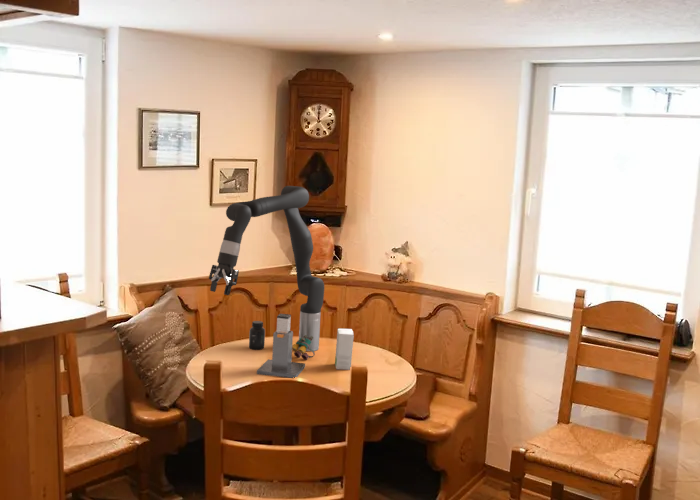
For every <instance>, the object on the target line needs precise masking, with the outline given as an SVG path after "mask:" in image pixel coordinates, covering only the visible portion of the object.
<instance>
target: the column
mask: <svg viewBox="0 0 700 500" xmlns="http://www.w3.org/2000/svg"><path fill="white" fill-rule="evenodd" d="M291 317H292V315H291V314H288V313H279V314H277V316H276V331H277V333H279V334H289V333H290V331H291V319H292V318H291Z"/></svg>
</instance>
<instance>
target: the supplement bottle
mask: <svg viewBox="0 0 700 500" xmlns="http://www.w3.org/2000/svg"><path fill="white" fill-rule="evenodd" d="M251 322H252V323H251V326H252V327H250V328H249V332H248V333H249V338H248V339H249V341H248V348H249V349H250V350H253V351H261V350H264V349H265V339H266V338H265V337H266V328H264V322H263V321H261V320H253V321H251Z"/></svg>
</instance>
